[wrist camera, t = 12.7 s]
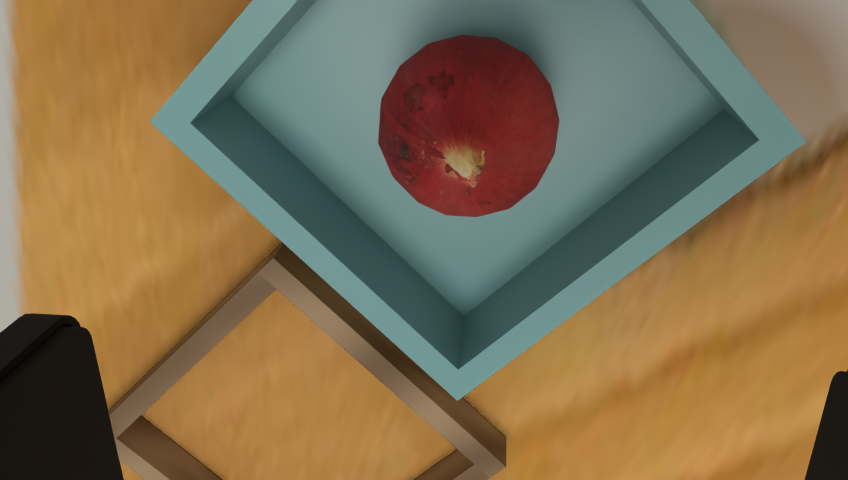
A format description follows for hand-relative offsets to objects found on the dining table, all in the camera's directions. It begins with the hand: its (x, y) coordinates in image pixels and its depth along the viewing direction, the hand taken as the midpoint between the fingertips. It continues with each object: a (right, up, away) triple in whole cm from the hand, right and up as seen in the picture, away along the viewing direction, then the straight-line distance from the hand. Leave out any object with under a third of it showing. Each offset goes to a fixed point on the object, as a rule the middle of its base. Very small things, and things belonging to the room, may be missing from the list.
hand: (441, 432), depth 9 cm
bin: (+2, +8, +19) cm, 20 cm away
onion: (+2, +8, +18) cm, 20 cm away
